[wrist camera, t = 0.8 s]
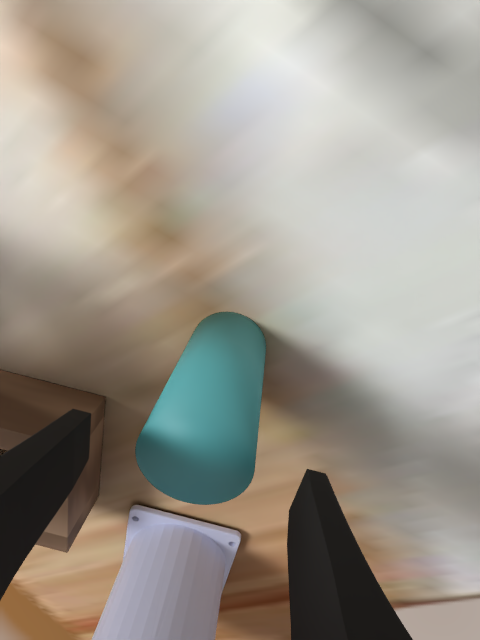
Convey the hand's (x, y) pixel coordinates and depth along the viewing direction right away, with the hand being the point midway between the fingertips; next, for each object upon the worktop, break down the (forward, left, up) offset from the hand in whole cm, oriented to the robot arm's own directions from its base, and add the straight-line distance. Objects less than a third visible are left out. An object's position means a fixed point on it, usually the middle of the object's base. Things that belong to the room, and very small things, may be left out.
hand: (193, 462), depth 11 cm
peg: (0, 0, -8) cm, 8 cm away
